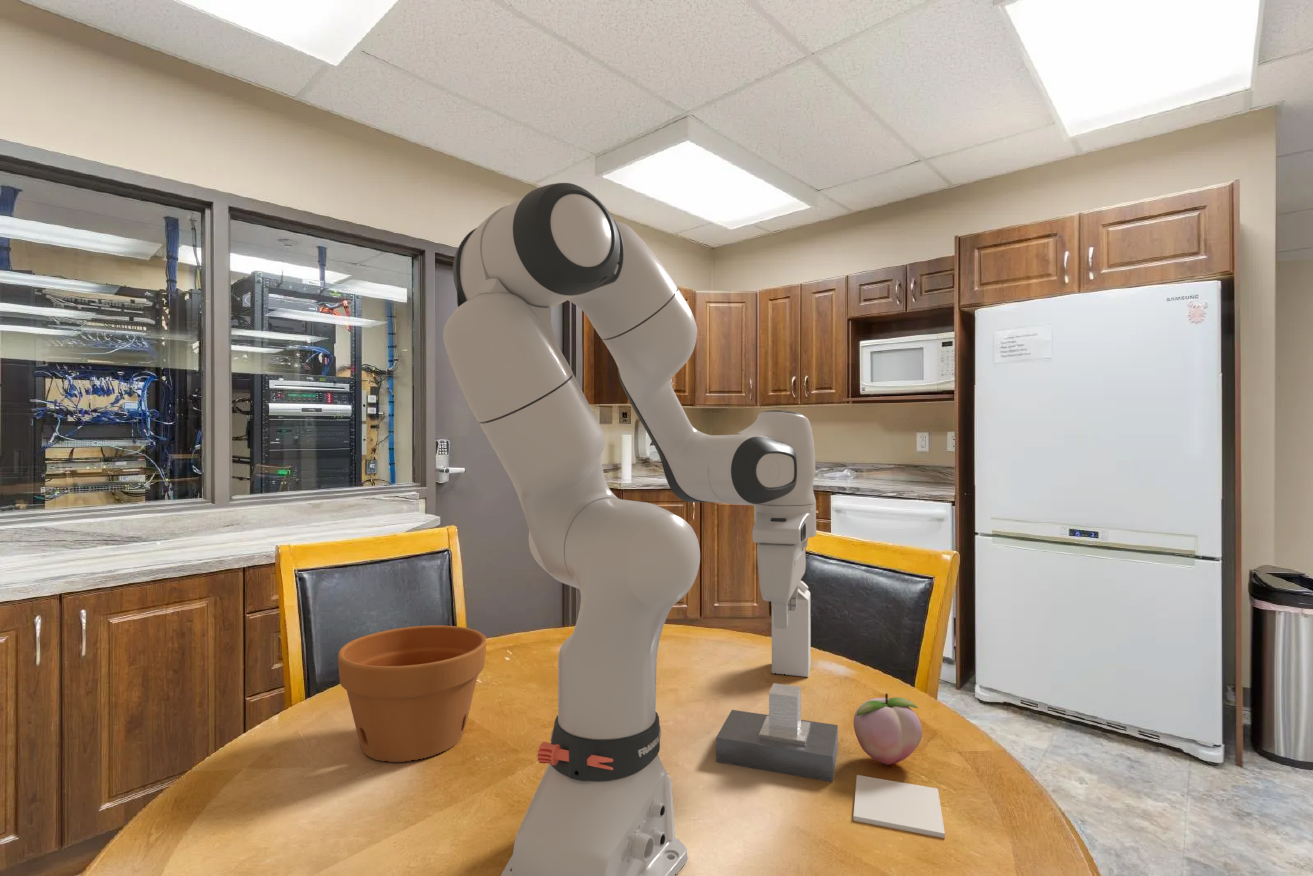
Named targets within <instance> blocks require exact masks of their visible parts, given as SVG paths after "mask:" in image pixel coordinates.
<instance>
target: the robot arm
mask: <svg viewBox="0 0 1313 876" xmlns="http://www.w3.org/2000/svg"><path fill="white" fill-rule="evenodd" d="M452 265H453V266H452V274H453V276H452V277H453V283H454V288H455V290H456V303H457V308H456V309H455V310H454V311H453V312H452V313H451V315H450V316H449V317H448V319H447V320H446V323H445V325H444V328H443V334H442V335H443V336H442V338H443V344H444V347H445V350H446V351H445V352H446V354H447V356H448V361H449V362H450V366H451V369H452V370H453V372H454V375H455V379H456V381H457V383H458V385H459V388H460V389H461V392H462V394H463V396H464V399H465V400H466V402H467V404H468V406H469V408H470V410H471V412H472V414H473V415H474V418H475V419H476V421H477V423H478V425H479V426H480V427H481V429H482V432H483V433H484V435H485V437H486V438H487V440H488V442H489V444H490V445H491V446H490V447H491V448H492V449H493V450H494V453H495V454H496V456H497V457H498V459H499V462H500V463H501V464H502V466H503V468H504V470H505V471H506V473H507V475H508V477H509V479H510V481H511V483H512V485H513V488H514V490H515V492H516V494H517V497H518V500H519V503H520V506H521V508H522V512H523V514H524V518H525V521H526V523H527V527H528V531H529V532H528V545H529V551H530V554H531V555H532V557H533V559H534V561H535V562H536V563H537V564H538V565H539V566H540V567H541V568H542V569H543V570H544V571H545V572H546V573H547V574H549V575H550V577H552V578H553V579H554V580H556V581H557V582H560V583H562V584H564V585H567V586H570V587H573V588H575V589H578V590H579V592H580V604H579V611H578V614H577V615H578V616H577V620H576V622H575V623H576V624H575V626H574V629H573V632H572V634H571V635H569V636H568V637H567V638H566V639H565V640H564V641H563V643H562V644H561V646H560V648H559V651H558V654H557V655H558V656H557V665H558V666H557V671H558V673H557V682H558V683H557V693H558V694H557V715H556V716H555V719H554V722H553V729H552V731H551V735H550V740H549V741H550V742H547V741H542V742H541V744H540V745H539V747H538V751H537V755H536V757H537V761H538V763H540V764H548V765H547V768H546V769H545V771H544V773H543V775H542V777H541V780H540V782H539V784H538V786H537V788H536V790H535V792H534V794H533V797H532V799H531V801H530V803H529V806H528V808H527V810H526V813H525V814H524V817H523V819H522V822H521V824H520V827H519V829H518V831H517V833H516V836H515V839H514V845H513V850H512V855H511V857H510V858H509V860H508V862H507V863H506V865H505V867H504V868H503V870H502V872H501V874H500V876H676V875H677V874H678V873H679V872H680V871H681V869H682V868H683V867H684V866H685V864H686V863H687V862H688V858H689V857H688V849H687V847H686V845H685V844H684V843H683V842H682V841H681V840H679V838H677V836H676V829H675V811H674V809H675V808H674V798H673V797H674V796H673V795H674V794H673V782H672V778H671V776H670V775H669V772H668V771H667V770H666V768H665V767H664V765H663V762H662V761H661V758H660V756H659V753H660V751H661V750H660V749H661V736H662V735H661V734H662V733H661V728H662V727H661V725H660V716H659V714H658V712H657V711H656V707H657V705H656V704H657V702H656V701H657V665H658V663H657V662H658V661H657V659H658V651H659V644H660V640H661V635H662V632H663V629H664V626H665V623H666V620H667V618H668V615H669V614H670V611H671V610H672V608H673V607H674V605H676V604H677V603H678V602H679V601H680V600H682V599H683V598H684V597H685V596H686V595H687V594H688V593H689V591H690V590H691V589H692V587H693V585H694V584H695V581H696V579H697V576H698V573H699V568H700V564H701V549H700V543H699V539H698V537H697V534H696V532H695V530H694V529H693V527H692V526H691V525H690V524H689V523H688V522H687V521H686V520H685V519H684V518H682V517H680V516H679V515H677V514H675V513H673V512H671V511H669V510H667V509H665V508H663V507H662V506H661V507H660V506H658V505H657V504H654V503H650V502H646V501H645V502H644V501H636V500H628V499H622V498H619V497H617V496H616V495H615V494H614V492H613V491H612V490H611V489H610V486H609V485H608V483H607V481H606V477H605V472H604V468H603V463H602V456H601V455H602V453H603V451H604V448H605V442H606V441H605V440H606V438H605V434H604V430H603V429H602V427H601V425H600V422H599V421H598V419H597V417H596V415H595V413H594V411H593V410H592V408H591V405H590V404H589V401H588V399H587V398H586V395H585V394H584V392H583V390H582V388H581V386H580V383H579V382H578V380H577V378H576V376H575V374H574V372H573V370H572V369H571V366H570V365H569V363H568V361H567V359H566V357H565V355H564V354H563V352H562V351H561V349H560V347H559V346H558V343H557V342H556V339H555V336H554V331H553V326H552V308H554V307H556V306H559V305H561V304H564V303H565V302H567V301H568V302H570V303H572V304H573V305H575V306H577V307H578V308H580V310H581V311H582V312H583V313H584V314H585V315H586V317H587V318H588V320H589V322H590V324H591V326H592V327H593V329H594V330H595V331H596V333H597V334H598V336H599V337H600V339H601V340H602V342H603V344H604V345H605V346H606V348H607V350H608V351H609V353H610V355H611V356H612V358H613V359H614V362H615V363H616V366H617V372H618V379H619V381H620V384H621V386H622V389H623V391H624V393H625V395H626V397H627V399H628V401H629V403H630V405H631V406H632V409H633V410H634V412H635V413H636V416H637V417H638V419H639V421H640V423H641V424H642V426H643V428H644V429H645V432H646V433H647V435H648V437H649V439H650V440H651V442H652V444H653V446H654V448H655V450H656V452H657V453H658V454H657V455H659V459H660V462H661V465H662V469H663V473H664V476H665V480H666V482H667V484H668V487H669V488H670V490H671V491H672V493H673V494H674V495H675V496H676V497H678V498H679V499H680V500H682V501H684V502H687V503H692V504H693V503H718V504H727V505H742V506H753V527H752V530H751V531H752V532H751V533H752V542H753V543H755V544H757V546H756V547H757V548H756V557H757V569H758V571H757V573H758V580H759V583H758V584H759V591H760V593H761V598H762V599H763V601H765V602H770V606H771V612H772V611H773V615H774V627H775V628H778V629H786V628H787V626H788V614H787V611H794V610H795V609H796V608H797V594H798V586H799V582H800V581H802V578H803V576H804V575H805V573H806V565H807V564H806V563H807V561H806V548H807V547H808V539H809V538H813V537H815V536H817V500H816V496H815V492H814V480H815V476H816V452H815V449H816V448H815V439H814V433H813V429H812V425H811V422H810V419H809V418H808V417H807V416H805V415H804V414H802V413H799V412H796V411H789V410H787V411H786V410H780V409H779V410H777V409H775V410H772V409H771V410H764V411H760V412H759V413H758V415H757V417H756V420H755V421H754V422H753V423H752V424H750V425H749V426H748V427H746V428H745V429H742V430H741V431H738V432H736V434H721V435H720V434H718V435H716V434H714V435H712V434H708V433H704V432H702V431H699V430H698V429H696V428H695V427H694V426H693V425H692V423H691V422H690V421H691V420H689V418H688V416H687V414H686V412H685V410H684V408H683V406H682V403H681V402H680V400H679V398H678V396H677V394H676V392H675V390H674V387H673V385H672V378H673V377H674V376H675V375H677V374H678V372H680V370H681V369H682V368H683V367H684V366H685V364H687V362H688V361H689V360H690V358H691V356H692V354H693V353H694V350H695V346H696V344H697V337H698V326H697V323H696V319H695V316H694V314H693V312H692V310H691V308H690V305H689V303H688V302H687V300H686V298H685V297H684V295H683V294H682V292H681V291H680V289H679V288H678V285H676V283H675V281H674V280H673V278H672V276H671V275H670V274H669V272H668V270H667V269H666V268H665V266H664V265H663V264H662V262H661V261H660V260H659V258H658V257H657V255H655V253H654V252H653V251H652V249H651V247H649V246H648V244H646V243H645V241H644V240H643V239H642V237H641V236H639V234H637V233H636V232H635V230H634V229H633V228H632V227H631V226H629V225H628V224H626V223H624V222H622V221H621V222H620V221H616V220H615V219H614V218H613V216H612V214H611V212H610V211H609V209H608V208H606V206H605V205H604V204H603V203H602V202H601V200H599V199H598V198H597V197H596V196H595V195H594V194H592V193H591V192H590V191H588V190H587V189H585V188H583V187H581V186H579V185H577V184H574V183H570V182H556V183H550V184H547V185H543V186H541V187H537V188H535V189H533V190H531V191H529V192H528V193H527V194H526V195H525V196H524V197H523V198H519V199H518V200H516V201H513V202H512V203H510V204H508V205H505V206H502V207H500V208H499V209H497V210H496V211H494V212H493V213H491V214H490V215H489V216H488V217H487V218H485V219H484V220H483V221H482V222H481V223H480V224H479V225H478V226H477V227H475V228H474V229H473V230H471V231H469V232H468V233H467V234H466V235H465V237H464V238H463V239H462V240H461V242H460V244H459V246H458V247H457V249H456V252H455V255H454V258H453V264H452ZM675 874H676V875H675Z"/></svg>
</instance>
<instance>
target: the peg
mask: <svg viewBox="0 0 1313 876" xmlns="http://www.w3.org/2000/svg"><path fill="white" fill-rule="evenodd" d="M801 709H802V687H801V686H800V685H791V684H790V685H789V684H784V683H782V684H781V683H776V682H773V683H772V686H771V687H770V690H769V692H768V715H769V716H767V717H766V719H765V721H764V724H763V726H762V728H761V731H760V733H759V738H760V739H766V740H772V741H779V742H785V743H791V744H797V745H804V746H805V744H806V741H807V737H808V733H809V729H810V722H805V721H801V720H802V710H801Z"/></svg>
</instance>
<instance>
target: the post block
mask: <svg viewBox="0 0 1313 876" xmlns="http://www.w3.org/2000/svg"><path fill="white" fill-rule="evenodd" d="M767 716H769V714H764V713H757V712H751V711H743V710H736V709H731V710H730V712H729V714H728V716H727V718H726V719H725V722H723V725H722V726H721V728H720V730H719V732H718V733H717V735H716V737H715V762H716V763H720V764H727V765H733V766H736V767H737V766H739V767H742V768H743V767H744V768H748V769H755V770H759V771H766V772H772V773H777V774H783V775H788V776H794V777H800V778H806V779H812V780H816V781H817V780H818V781H822V782H829V783H833V782H834V776H835V771H836V770H835V769H836V763H837V756H838V750H839V748H838V747H839V743H838V742H839V740H838V739H839V733H838V732H839V730H838V729H839V727H838V724H834V723H833V724H832V723H826V722H825V723H824V722H819V721H811V720H805V719H801V721H805V722H810V729H809V733H808V737H807V741H806V744H805V746H804V745H797V744H791V743H785V742H779V741H772V740H766V739H760V738H759V733H760V731H761V728H762V726H763V724H764V721H765V719H766V717H767Z"/></svg>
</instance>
